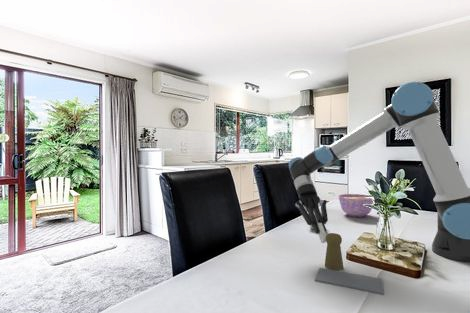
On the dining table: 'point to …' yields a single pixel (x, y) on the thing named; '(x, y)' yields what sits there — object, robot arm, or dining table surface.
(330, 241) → the olive waisted cylinder
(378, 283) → the mat
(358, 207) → the purple ceramic bowl
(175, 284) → the dining table surface
